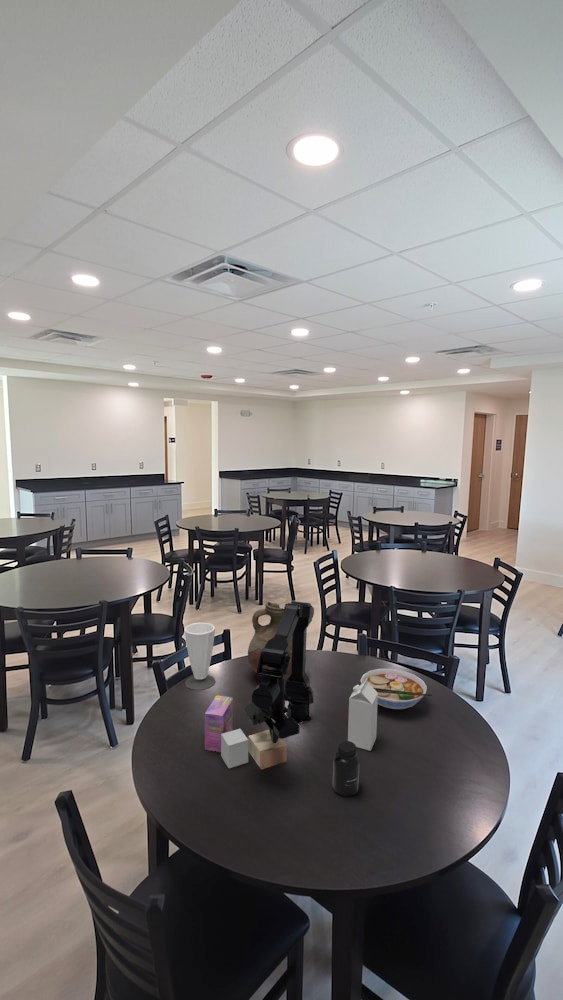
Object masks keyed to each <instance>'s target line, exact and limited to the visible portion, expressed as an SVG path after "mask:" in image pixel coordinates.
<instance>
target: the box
mask: <svg viewBox="0 0 563 1000" xmlns="http://www.w3.org/2000/svg"><path fill="white" fill-rule="evenodd" d="M233 710H234V698H233V697H232V696H225V695H215V696H214V698H213V700H212V701H211V702H210V704H209V707H208V708H207V710H206V711H205V712H204V750H205V751H209V752H215V751H216V753H221V734H223V733H226V732H230V731H233V730H234V729H233V719H234V718H233V717H234V716H233V713H234V711H233Z"/></svg>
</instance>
